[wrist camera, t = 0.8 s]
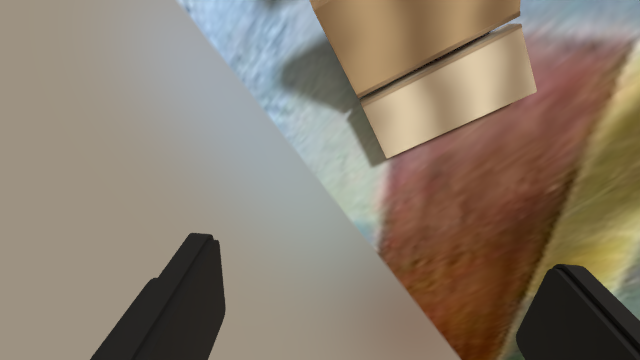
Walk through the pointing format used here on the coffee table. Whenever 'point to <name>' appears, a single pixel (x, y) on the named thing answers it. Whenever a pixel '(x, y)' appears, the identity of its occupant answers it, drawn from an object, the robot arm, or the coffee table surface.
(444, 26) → the plank
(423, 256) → the coffee table surface
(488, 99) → the laid board
